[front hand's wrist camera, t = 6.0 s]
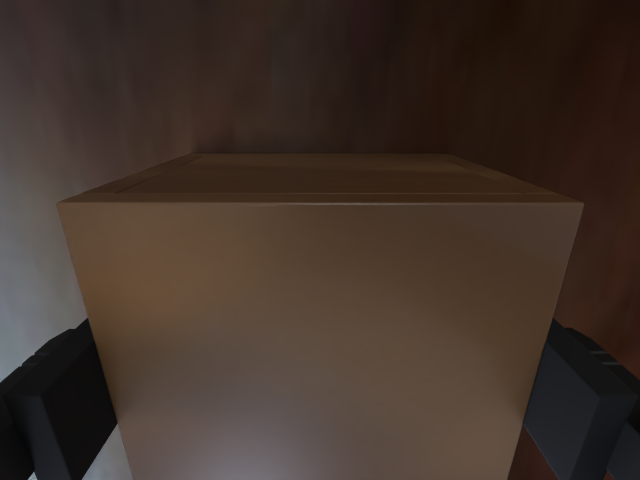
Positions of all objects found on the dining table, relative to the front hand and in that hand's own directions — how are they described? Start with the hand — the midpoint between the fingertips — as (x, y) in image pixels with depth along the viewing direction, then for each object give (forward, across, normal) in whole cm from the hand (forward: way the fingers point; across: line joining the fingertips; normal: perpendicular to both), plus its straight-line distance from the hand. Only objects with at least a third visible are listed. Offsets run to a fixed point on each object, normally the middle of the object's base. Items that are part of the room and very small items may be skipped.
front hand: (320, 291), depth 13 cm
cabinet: (+3, 0, -5) cm, 6 cm away
